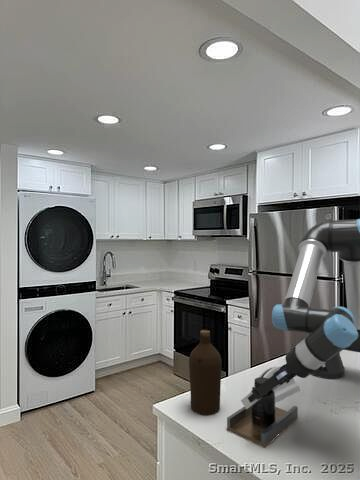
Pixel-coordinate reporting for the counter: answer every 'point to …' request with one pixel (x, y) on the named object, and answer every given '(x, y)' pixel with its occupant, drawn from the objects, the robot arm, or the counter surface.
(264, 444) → the floor track
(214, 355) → the olive oil
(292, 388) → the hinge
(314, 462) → the counter surface
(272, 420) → the supplement bottle
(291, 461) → the counter surface
